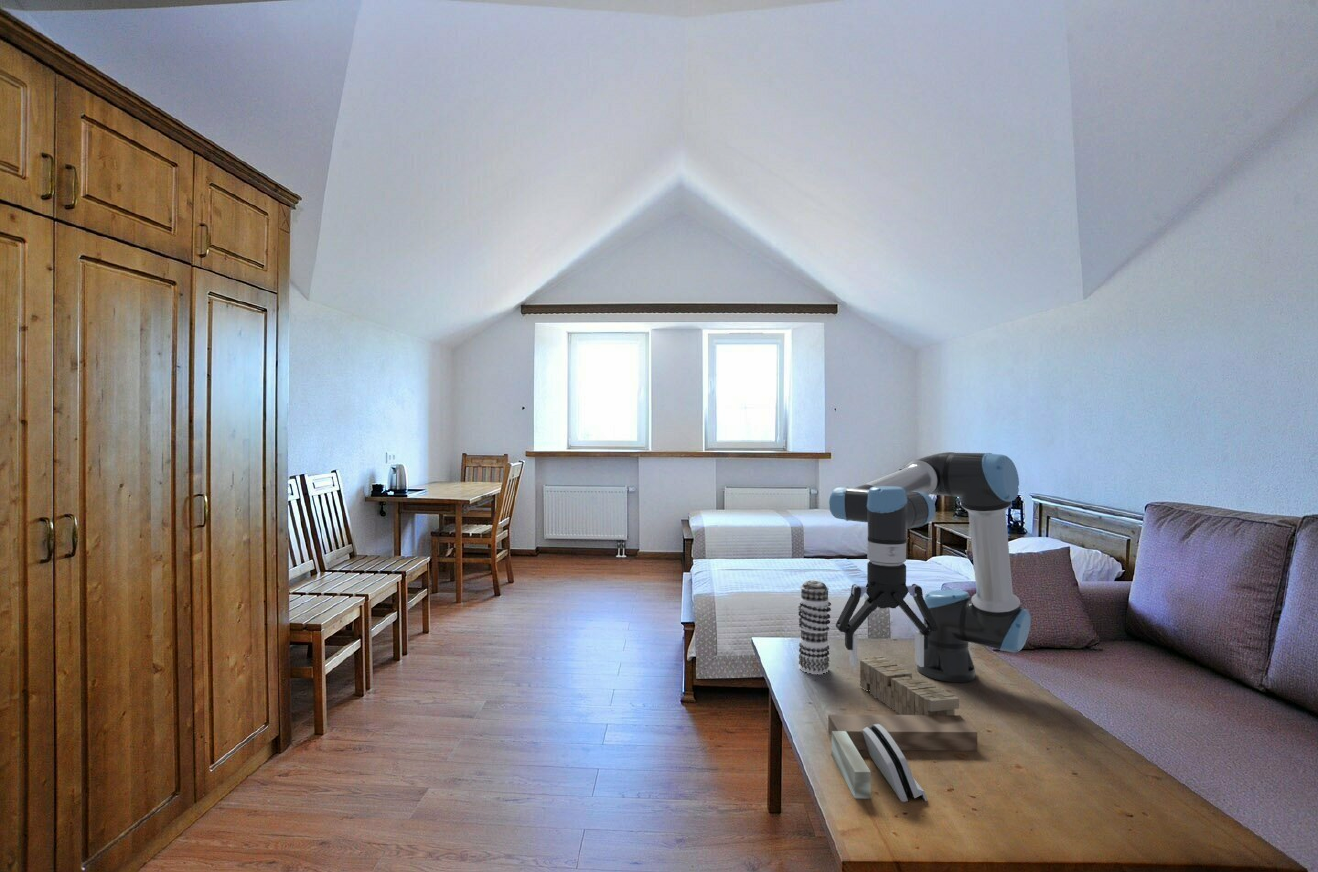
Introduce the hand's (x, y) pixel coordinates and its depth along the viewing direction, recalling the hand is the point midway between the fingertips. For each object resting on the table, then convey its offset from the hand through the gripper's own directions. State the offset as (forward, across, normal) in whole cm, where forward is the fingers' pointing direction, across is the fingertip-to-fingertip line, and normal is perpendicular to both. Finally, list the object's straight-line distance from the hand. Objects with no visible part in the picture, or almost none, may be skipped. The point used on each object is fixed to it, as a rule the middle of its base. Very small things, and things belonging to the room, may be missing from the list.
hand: (886, 664), depth 130 cm
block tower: (+22, +14, +28) cm, 38 cm away
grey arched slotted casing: (+21, -1, -5) cm, 22 cm away
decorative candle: (+21, -2, +52) cm, 56 cm away
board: (+21, +6, +1) cm, 22 cm away
